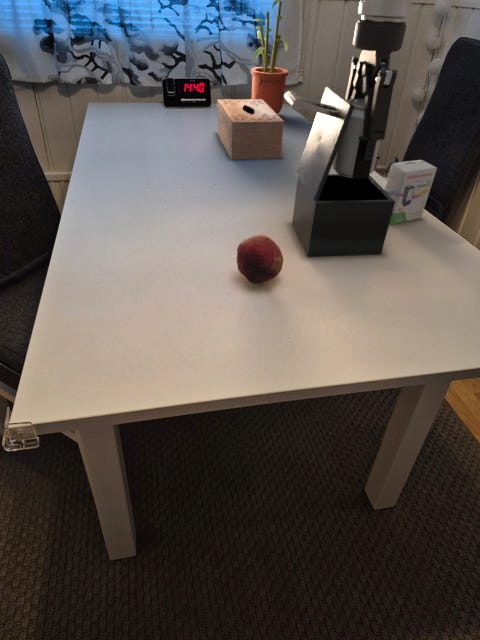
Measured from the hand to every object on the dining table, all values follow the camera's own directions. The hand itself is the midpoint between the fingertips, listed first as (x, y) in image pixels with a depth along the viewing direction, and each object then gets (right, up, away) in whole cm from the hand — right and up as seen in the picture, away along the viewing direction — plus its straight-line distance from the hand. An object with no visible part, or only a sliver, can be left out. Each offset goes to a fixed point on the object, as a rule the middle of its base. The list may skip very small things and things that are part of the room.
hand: (352, 169), depth 81 cm
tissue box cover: (-19, +26, +55) cm, 64 cm away
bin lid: (-6, +3, -3) cm, 8 cm away
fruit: (-18, -21, -4) cm, 28 cm away
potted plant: (-13, +49, +84) cm, 98 cm away
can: (0, -1, 0) cm, 1 cm away
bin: (-2, -11, +9) cm, 14 cm away
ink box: (+15, -5, +18) cm, 24 cm away
